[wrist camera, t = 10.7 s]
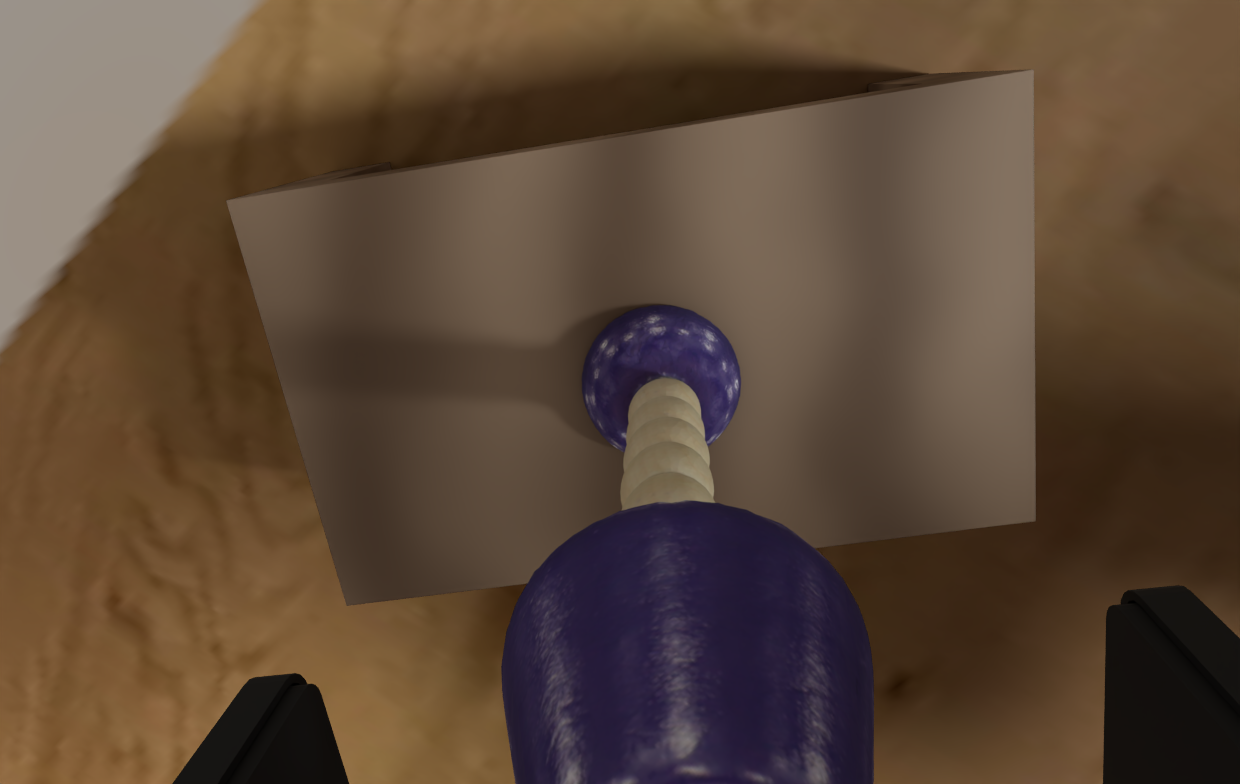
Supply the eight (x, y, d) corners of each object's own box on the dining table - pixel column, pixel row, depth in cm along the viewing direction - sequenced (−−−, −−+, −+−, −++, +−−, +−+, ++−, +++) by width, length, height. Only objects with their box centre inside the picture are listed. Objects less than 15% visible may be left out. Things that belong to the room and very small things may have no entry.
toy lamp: (556, 307, 23) (356, 784, 7) (730, 260, 22) (926, 665, 7) (606, 470, 24) (531, 1160, 9) (771, 429, 24) (1009, 1088, 8)
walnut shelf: (930, 73, 28) (1033, 69, 21) (944, 418, 32) (1035, 520, 25) (332, 171, 30) (226, 200, 22) (414, 489, 34) (346, 605, 26)
